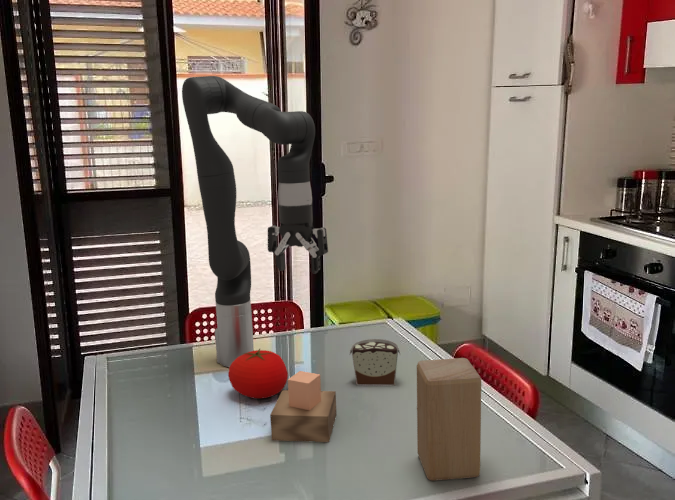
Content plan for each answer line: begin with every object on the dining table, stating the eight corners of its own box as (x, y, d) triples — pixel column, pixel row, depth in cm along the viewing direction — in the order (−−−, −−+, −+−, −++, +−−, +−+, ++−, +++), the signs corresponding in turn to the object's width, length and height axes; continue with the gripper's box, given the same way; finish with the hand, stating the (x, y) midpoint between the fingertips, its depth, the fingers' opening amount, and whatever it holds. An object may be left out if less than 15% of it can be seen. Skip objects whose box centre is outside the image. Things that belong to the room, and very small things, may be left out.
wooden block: (416, 454, 129) (415, 359, 125) (466, 450, 130) (467, 355, 125) (427, 483, 119) (427, 380, 115) (481, 479, 120) (483, 376, 116)
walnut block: (271, 441, 137) (270, 414, 135) (283, 414, 148) (282, 390, 147) (329, 443, 135) (327, 416, 134) (336, 416, 147) (335, 391, 146)
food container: (401, 375, 167) (400, 338, 164) (400, 385, 161) (400, 347, 158) (352, 375, 168) (351, 338, 166) (350, 385, 162) (349, 346, 160)
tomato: (298, 387, 162) (296, 347, 159) (272, 409, 150) (269, 367, 148) (249, 379, 168) (246, 340, 165) (220, 400, 156) (216, 358, 154)
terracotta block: (289, 406, 139) (287, 379, 138) (301, 396, 143) (299, 370, 142) (309, 410, 137) (308, 383, 136) (321, 400, 141) (320, 374, 140)
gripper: (259, 203, 148) (263, 273, 152) (317, 205, 143) (320, 277, 146) (275, 198, 155) (278, 265, 158) (330, 200, 149) (333, 269, 153)
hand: (298, 271), depth 152 cm, fingers open, 8 cm apart
